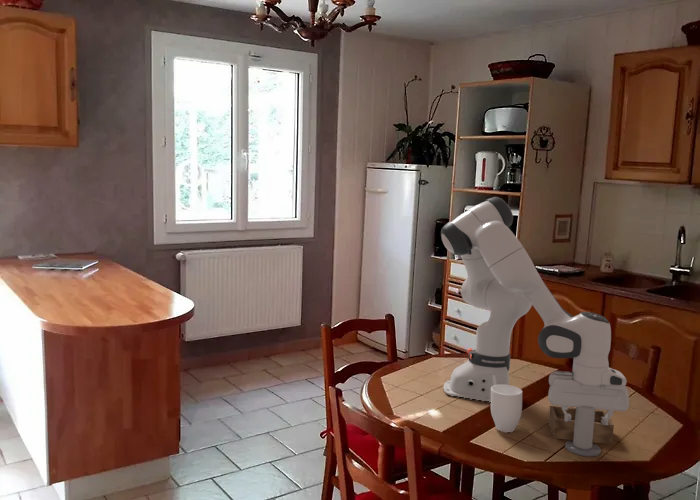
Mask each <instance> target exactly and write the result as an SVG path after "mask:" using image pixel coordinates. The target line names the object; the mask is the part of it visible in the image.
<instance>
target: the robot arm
mask: <svg viewBox="0 0 700 500" xmlns="http://www.w3.org/2000/svg"><path fill="white" fill-rule="evenodd" d="M513 222H514V216H513V212H512V210H511V207H510V206H509V204H508V203H507V202H506V201H505V200H504V199H503V198H500V197H498V196H493V197H489V198H487V199H485V201H483V202H480V203H479V204H475V205H474V206H472V207H469V209H467V210H466V211H464V212H462V213H461V214H460V215H458V216H456V217H455V218H454V219H452V220H451V221H448V222H447V223H445V224H444V226H443V227H442V228H441V230H440V237H441V241H442V243H443V245H444V247H445V248H446V251H447V250H448V252H449V253H451V255H454V256H460V258H461V260H462V263H463V264H464V267H465V270H466V272H467V278H466V279H465V280H464V281H463V283H462V284H461V289H460V292H461V294H460V295H461V297H462V300H463V302H465V303H466V304H469V306H472V307H474V308H478V309H481V310H485V311H489V312H490V314H489V315H490V316H489V319H488V321H485V322H483V323H481V324H480V325H479V326H478V327H477V329H476V334H475V335H476V336H475V349H473V348H471V347H470V348H469V347H468V349H467V354H468V360H467V361H465V362H464V363H462V364H461V365H459V366H457V367H455V368H454V369H453V371H452V373H451V376H450V379H449V380H447V381H445V382H444V383H443V388H442V390H443V389H444V391H445V392H446V393H447V394H449V395H451V396H450V397H453V396H458V397H457V398H459V397H464V398H463V399H465V398H470V399H469V400H472V399H476V400H475V401H478V400H482V401H481V402H484V401H489V402H488V403H490V402H491V387H492V386H494V385H510V378H509V377H510V375H509V371H510V367H511V354H510V345H511V337H512V332H513V328H514V326H515V324H516V323H517V321H518V320H519V319H520V318H521V317H523V316H524V315H527V313H528V312H529V311H530V310H531V308H532V307H533V308H534V309H535V311H536V312H537V313H538V315H539V316H540V318H541V319H542V321H543V323H544V326H543V328H542V329H541V330H540V332H539V334H538V337H537V343H538V344H537V345H538V346H539V348H540V350H541V351H542V352H543V354H544V355H546V356H548V357H550V358H552V359H573V360H572V361H573V363H572V371H562V370H555V371H553V372H551V373H550V374H549V376H548V384H549V389H548V393H547V394H548V396H547V399H548V401H549V403H550V404H551V406H558V407H561V408H562V410H563V412H564V414H565V417H564V420H565V422H571V414H567V412H566V410H568V407H569V408H576V407H579V408H580V407H581V406H583V407H593V409H595V410H601V411H605V412H606V413H607V414H606V415H605V416H604V417H601V425H608V420H609V419H610V420H611V418H612V417H613V415H614V412H616V411H617V412H626V411H627V410H628V409H629V404H630V400H629V399H630V397H629V396H630V394H629V390H628V388H627V387H626V385H627V381H628V380H627V378H626V376H624V374H623V373H622V372H621V371H619V370H617V369H615V368H614V369H613V368H612V367H610V366H609V365H610V363H609V353H610V351H611V342H612V329H611V324H610V322H609V320H608V319H607V318H606V317H604V316H603V315H602V314H598V313H595V312H590V311H582V312H580V313H579V314H577V315H575V316H574V315H573V314H571V313H569V312H568V311H566V310H565V309H564V308H563V307H562V306H561V304H560V303H559V301H558V300H557V298H556V297H555V296H554V294H553V293H552V292H551V290H550V288H548V286H547V285H546V283H545V282H544V280H543V279H542V277H541V275H540V273H539V272H538V270H537V268H536V267H535V264H534V263H533V260H532V259H531V257H530V255H529V253H528V252H527V251H526V249H525V247H524V246H523V244H522V243H521V241H520V240H519V238H518V237H517V236H516V235H515V234H514V232H513V231H512V230H511V229H510V226H511V225H512V224H513ZM444 391H443V392H444ZM447 394H446V395H447Z"/></svg>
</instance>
